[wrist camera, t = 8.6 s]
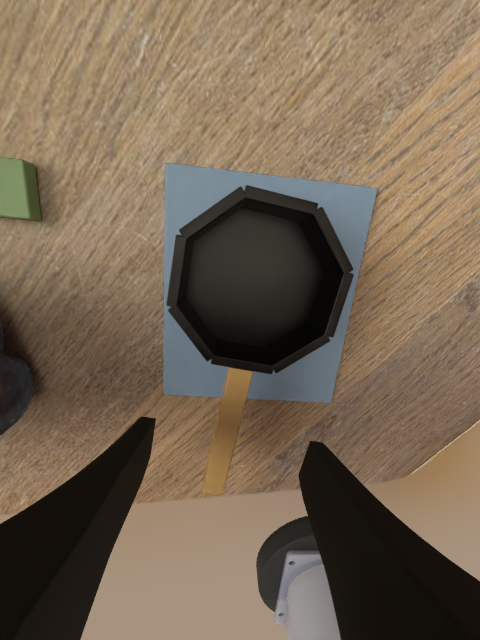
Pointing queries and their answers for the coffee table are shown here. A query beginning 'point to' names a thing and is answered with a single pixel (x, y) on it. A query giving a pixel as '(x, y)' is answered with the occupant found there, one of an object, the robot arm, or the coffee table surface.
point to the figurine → (13, 388)
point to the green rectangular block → (18, 190)
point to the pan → (255, 296)
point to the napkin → (322, 364)
